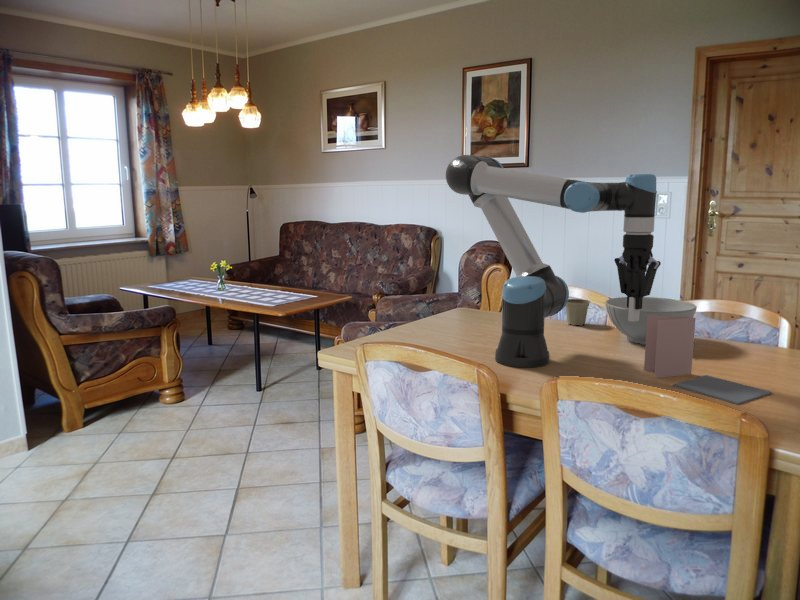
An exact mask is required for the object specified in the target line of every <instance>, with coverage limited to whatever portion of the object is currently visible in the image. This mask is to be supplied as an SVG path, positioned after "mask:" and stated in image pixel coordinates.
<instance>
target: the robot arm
mask: <svg viewBox="0 0 800 600" xmlns="http://www.w3.org/2000/svg"><path fill="white" fill-rule="evenodd" d="M445 181H446V184H447V186H448V187H449V189H451V191H453V192H455V193H456V194H459V195H466V196H467V195H468V197H469V199H470V200H471V203H472V204H473V206H474V208H475V207H476V208H479V209H481V211H482V213H483V215H484V216H485V217H484V218H486V220H487V222H488V225H489V226H490V228H491V230H492V232H493V233H494V236H495V238H496V240H497V241H498V244H499V245H500V247H501V249H502V251H503V253H504V255H505V257H506V259H507V260H508V261H509V262H508V263H509V264H510V266H511V268H512V270H513V272H514V274H515V276H514V277H511V278H509V279H507V280H505V282H504V283H503V286H502V292H501V298H502V303H501V304H502V305H501V306H502V307H501V309H502V310H501V315H502V316H501V334H500V339H499V342H498V344H497V348H496V349H495V352H494V353H495V355H494V359H495V361H496V362H497V363H498V362H499V364H501V365H504V366H508V367H515V368H537V367H543V366H546V365H548V364H550V357H551V356H550V351H549V350H548V345H547V341H546V338H545V318H548V317H552V316H554V315H558V313H560V312H561V311H562V310H563V309H565V308H566V304H567V302H568V299H570V292H569V291H570V289H569V286H568V284H567V283H566V281H565V280H564V279H563V278H561V277H560V276H557V275H556V274H555V272H554V270H553V269H552V267H551V266H550V264H547V263H544V262H543V261H542V258H541V257H540V255H539V254H538V251H537V250H536V248H535V246H534V245H533V242H532V240H531V239H530V236H529V235H528V233H527V231H526V229H525V227H524V225H523V224H522V222H521V220H520V218H519V217H518V215H517V213H516V210H515V209H514V207H513V205H512V203H511V202H510V199H515V200H520V201H526V202H530V203H537V204H541V205H547V206H551V207H557V208H562V209H566V210H570V211H572V212H575V213H582V214H584V213H588V212H589V213H590V212H605V211H607V212H612V211H616V212H622V211H623V212H624V214H623V215H624V216H623V233H624V234H623V236H622V247H623V251H622V253H621V255H620V256H619V257H615V258H614V263H615V265H616V268H617V275H618V281H619V288H620V293H621V294H624V295H625V296H626V297H627V308H629V312H628V321H632V322H633V321H639V315H640V309H642V301H643V297H649V296H650V295H651V292H652V288H653V285H654V281H655V279H656V278H655V277H656V274H657V271H658V269H659V267H660V266H661V264H662V263H661V261H660V260H656V259H655V258H654V255H653V252H652V249H653V247H654V237H655V235H654V234H652V233H653V232H654V231H655V218H656V217H655V216H656V215H655V214H656V204H657V203H656V201H657V193H658V190H657V176H656V175H655V174H652V173H637V174H635V173H634V174H628V175H626V179H625V181H622V182H594V181H593V182H589V181H583V180H576V179H570V178H563V177H558V176H552V175H545V174H540V173H539V174H538V173H533V172H528V171H527V172H526V171H521V170H514V169H509V168H504V166H503V165H502V163H501V162H500V161H498V160H497V159H495V158H493V157H490V156H487V155H481V156H479V155H471V154H462V155H459V156H456V157H455V158H453V159H452V160H451V161H450V162H449V163H448V165H447V167H446V170H445ZM509 198H510V199H509Z"/></svg>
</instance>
